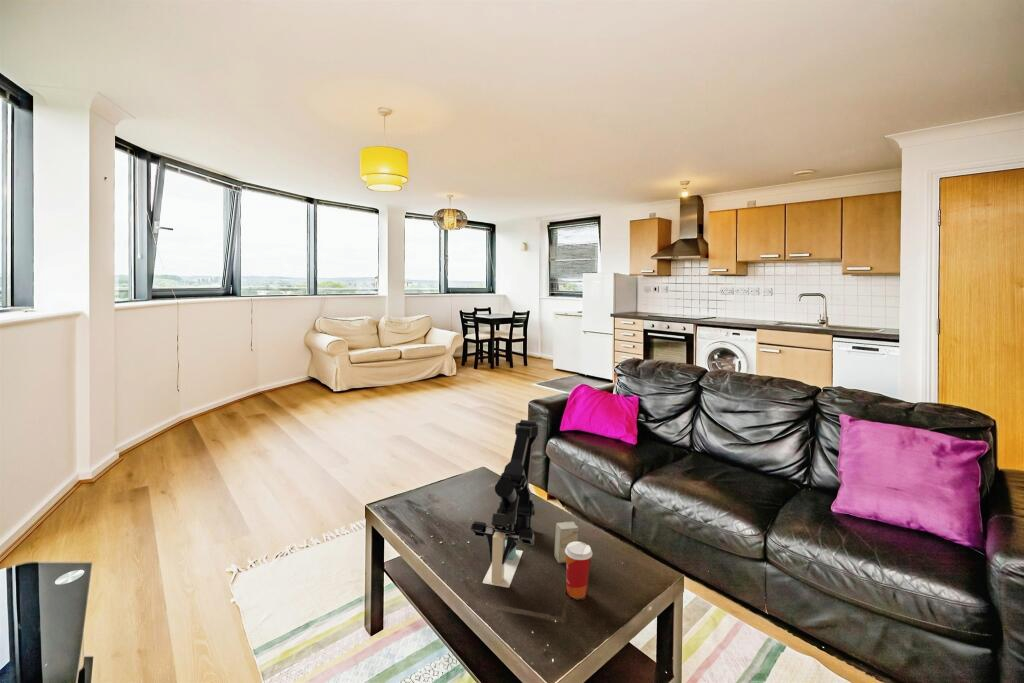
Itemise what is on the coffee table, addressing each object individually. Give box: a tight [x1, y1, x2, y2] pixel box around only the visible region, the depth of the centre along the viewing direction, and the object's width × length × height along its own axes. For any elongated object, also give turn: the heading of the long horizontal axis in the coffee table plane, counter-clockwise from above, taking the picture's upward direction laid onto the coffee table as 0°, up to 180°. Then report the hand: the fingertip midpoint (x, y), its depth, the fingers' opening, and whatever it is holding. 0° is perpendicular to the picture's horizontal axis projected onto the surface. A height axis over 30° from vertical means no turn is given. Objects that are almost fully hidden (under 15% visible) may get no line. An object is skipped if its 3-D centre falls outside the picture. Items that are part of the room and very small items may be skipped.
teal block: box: [505, 539, 517, 560], centre depth 149 cm, size 4×4×4 cm
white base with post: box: [481, 532, 524, 588], centre depth 143 cm, size 20×8×15 cm, turn 167°
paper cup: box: [565, 541, 593, 598], centre depth 133 cm, size 8×8×14 cm
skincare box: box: [553, 520, 579, 564], centre depth 149 cm, size 6×4×12 cm
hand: (497, 563), depth 135 cm, fingers closed on white base with post, 3 cm apart
